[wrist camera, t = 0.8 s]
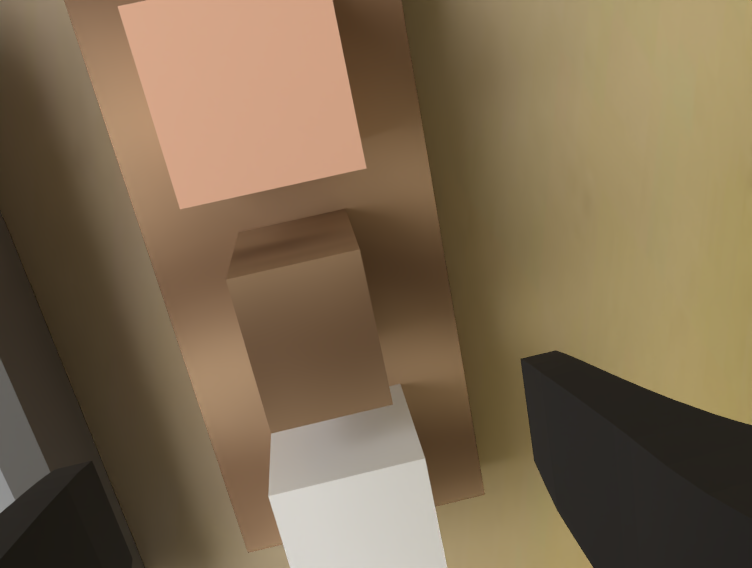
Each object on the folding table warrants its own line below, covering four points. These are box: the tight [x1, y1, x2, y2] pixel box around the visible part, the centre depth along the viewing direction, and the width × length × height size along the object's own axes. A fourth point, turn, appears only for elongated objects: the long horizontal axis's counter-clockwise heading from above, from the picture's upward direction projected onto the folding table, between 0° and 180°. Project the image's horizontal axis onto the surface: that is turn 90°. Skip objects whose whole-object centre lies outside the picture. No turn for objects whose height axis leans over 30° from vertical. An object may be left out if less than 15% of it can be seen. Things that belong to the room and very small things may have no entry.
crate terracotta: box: [118, 0, 366, 209], centre depth 15 cm, size 4×4×4 cm
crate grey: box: [268, 384, 447, 568], centre depth 19 cm, size 4×4×4 cm
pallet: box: [64, 0, 485, 553], centre depth 18 cm, size 17×8×6 cm, turn 11°
